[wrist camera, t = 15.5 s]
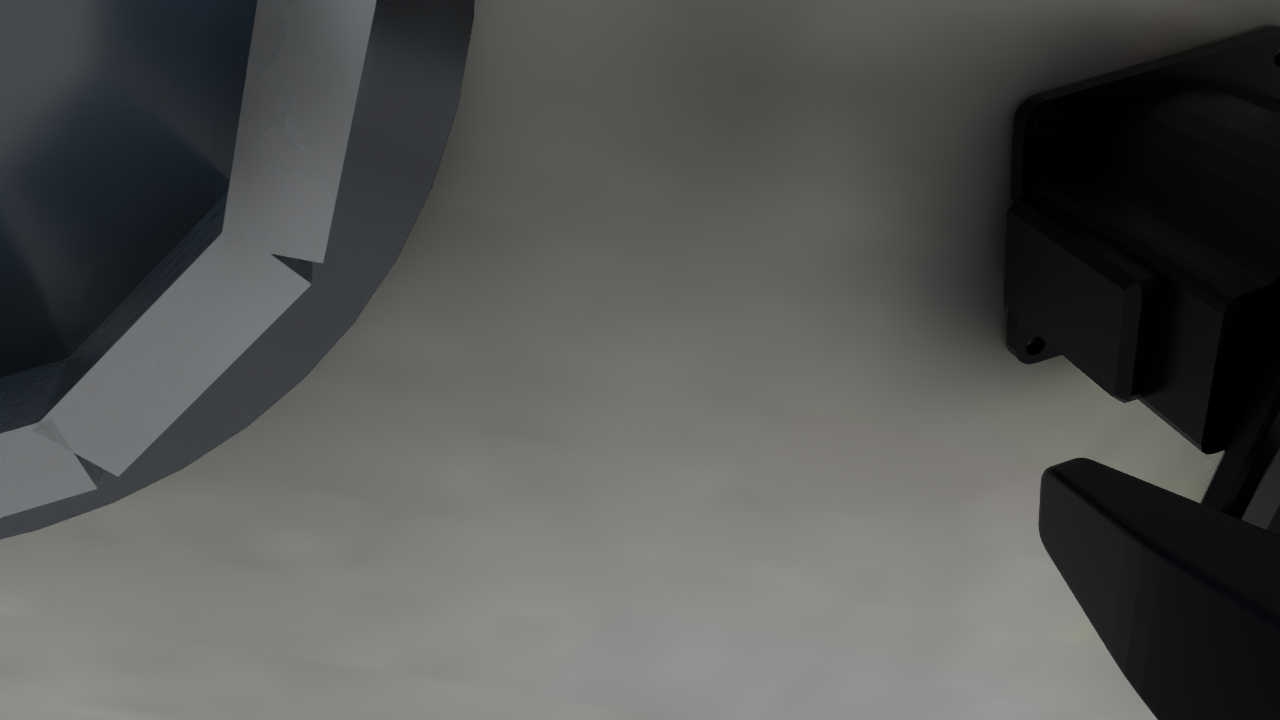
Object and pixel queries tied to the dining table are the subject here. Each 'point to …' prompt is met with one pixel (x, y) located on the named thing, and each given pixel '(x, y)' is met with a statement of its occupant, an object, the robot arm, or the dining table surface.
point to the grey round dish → (195, 218)
